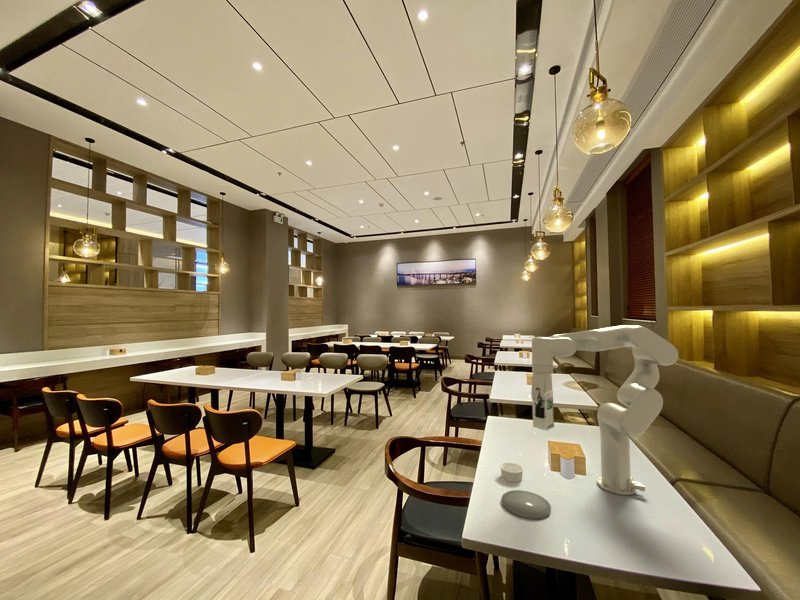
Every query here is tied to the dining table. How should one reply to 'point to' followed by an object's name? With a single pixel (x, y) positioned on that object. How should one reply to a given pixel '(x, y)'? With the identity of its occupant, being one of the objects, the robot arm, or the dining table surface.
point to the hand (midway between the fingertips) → (543, 415)
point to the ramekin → (511, 472)
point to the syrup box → (545, 413)
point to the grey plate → (526, 504)
